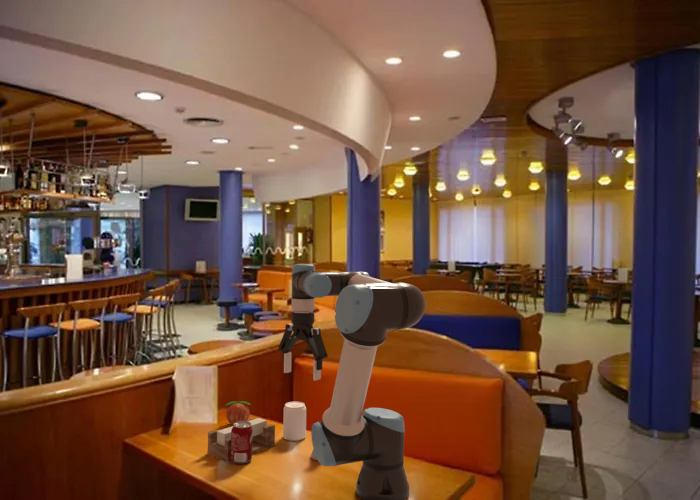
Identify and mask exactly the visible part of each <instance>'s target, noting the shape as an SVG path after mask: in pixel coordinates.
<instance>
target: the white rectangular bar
mask: <svg viewBox="0 0 700 500" xmlns="http://www.w3.org/2000/svg"><path fill="white" fill-rule="evenodd" d="M253 419H254V418H253ZM250 420H251V419H250ZM247 421H248V420H247ZM248 422H250V423H251V427H252V428H253V436H256V435H259V434H262V433H263V427H265V426H268V420H266V419H264V418H260V417H257V418H256V419H254V420H251V421H248ZM232 428H233V425H231V426H229V427H227V428H226V427H225V428H222V429H218V430H219V431H217V443H218V444H220V445H223V446H225V440H226V439H229V438H231V430H232Z"/></svg>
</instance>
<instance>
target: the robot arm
mask: <svg viewBox="0 0 700 500" xmlns="http://www.w3.org/2000/svg"><path fill="white" fill-rule="evenodd" d="M291 269H292V271H291V309H290V310H291V313H290V314H291V315H290V316H291V317H290V318H291V320H290V322H291V323H286V324H285V327H284V328H285V329H284V333H283V335H282V338H281V340H280V343H279V345H278V351H281V352H282V362H283V374H288V373H291V372H292V355H293V354H292V348H293V347H294V346H295V344H296V343H297V342H298V340H301V341H304V342H305V343H306V344H307V345H308V347H309V349H310V351H311V352H312V354H313V357H314V358H315V359H313V366H312V367H313V371H312V373H313V374H312V375H313V376H312V377H313V381H319V380H322V379H321V378H322V370H323V360H325V359H327V358H328V357H329V356H328V352H327V350H326V347H325V343H324V340H323V338H322V331H321V330H322V329H321V327H316V328H314V326H313V325H314V323H315V312H314V310H315V304H316V302H315V299H316V298H317V299H320V298H321V299H323V298H324V297H337V298H336V301H335V306H334V313H335V315H334V320H335V326H336V327H337V329H338V330H339V332H340V335H341V337H342V338H343V344H342V348H341V349H342V350H341V353H340V358H339V363H338V368H337V373H336V378H335V382H334V388H333V393H332V397H331V402H330V407H328V408H327V409H325V411H324V412H323V414H322V417H321V418H322V419H321V421H316V422H314V423H312V426H311V434H310V435H311V443H312V447H313V449H314V452H315V455H316V457H317V460H318V463H319V464H320V466H321V465H322V466H323V467H337V466H342V465H349V464H353V463H359V462H362V465H361V468H360V471H359V474H358V477H357V480H356V484H355V492H356V495H357V496H358V497H359V498H360V499H361V500H406V499H408V498H409V495H410V484H409V481H408V477H407V473H406V469H405V465H404V462H405V461H404V457H405V455H404V454H405V433H406V429H405V428H406V427H405V420H404V417H403V415H402V414H400V413H399V412H396V411H394V410H392V409H387V408H382V407H368V408H365V409H364V405H365V402H366V398H367V392H368V388H369V385H370V381H371V376H372V371H373V368H374V363H375V359H376V353H377V350H378V348H379V346H381V345H383V344H384V343H385V341H386V339H387V334H388V332H389V331H396V330H397V331H398V330H405V329H410V328H411V327H413V326H415V325H416V324H418V323H419V322H420V320H422V318H423V316H424V314H425V313H426V308H427V307H426V306H427V301H426V298H425V295H424V293H423V292H422V290H421V289H420V288H419V287H417V286H415V285H413V284H411V283H406V282H402V281H401V282H393V283H392V282H389V281H385V280H382V279H378V278H375V277H372V276H371V275H369V273H368V272H367V271H358V270H357V271H320V272H318V271H316V266H315V265H314V264H312V263H296V264H294V265H292V268H291Z"/></svg>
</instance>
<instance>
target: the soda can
mask: <svg viewBox="0 0 700 500" xmlns="http://www.w3.org/2000/svg"><path fill="white" fill-rule="evenodd" d="M232 426H233V425H232ZM252 441H253V428H252V427H251V423H250V422H248V420H247V421H238V422H235V423H234V426H233V428H232V430H231V454H230V460H231V461H232V463H234V464H237V465H244V463H245V464H247V463H248V462H251V461H252V459H253V454H252Z"/></svg>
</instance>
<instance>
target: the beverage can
mask: <svg viewBox="0 0 700 500" xmlns="http://www.w3.org/2000/svg"><path fill="white" fill-rule="evenodd" d="M282 420H283V421H282V423H283V427H282V428H283V429H282V437H283V439H285V440H287V441H290V442H291V441H292V442H297V441H301V440H302V439H304V438H306V436H307V407H306V405H305V402H302V401H289V402H286V403H284V407H283V419H282Z"/></svg>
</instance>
